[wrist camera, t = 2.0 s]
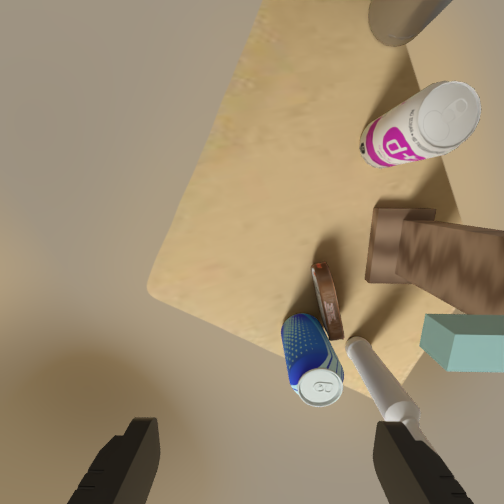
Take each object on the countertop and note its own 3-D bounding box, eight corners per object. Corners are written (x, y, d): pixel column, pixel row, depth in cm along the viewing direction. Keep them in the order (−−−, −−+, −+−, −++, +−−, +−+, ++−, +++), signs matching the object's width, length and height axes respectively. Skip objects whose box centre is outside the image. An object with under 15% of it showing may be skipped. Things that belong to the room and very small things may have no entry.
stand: (373, 208, 44) (603, 232, 15) (428, 208, 44) (769, 234, 15) (364, 279, 47) (539, 415, 18) (415, 280, 47) (674, 418, 18)
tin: (335, 323, 50) (350, 348, 42) (320, 326, 50) (332, 352, 42) (321, 255, 46) (335, 268, 38) (305, 259, 47) (316, 273, 38)
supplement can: (375, 178, 43) (437, 169, 28) (348, 141, 42) (398, 112, 27) (414, 146, 42) (500, 119, 27) (387, 107, 40) (462, 56, 26)
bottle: (368, 333, 50) (473, 464, 26) (369, 355, 51) (471, 499, 27) (343, 337, 50) (424, 469, 26) (345, 358, 51) (424, 503, 27)
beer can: (299, 353, 51) (317, 421, 36) (272, 328, 50) (279, 388, 35) (328, 328, 50) (361, 389, 34) (301, 302, 49) (323, 352, 33)
